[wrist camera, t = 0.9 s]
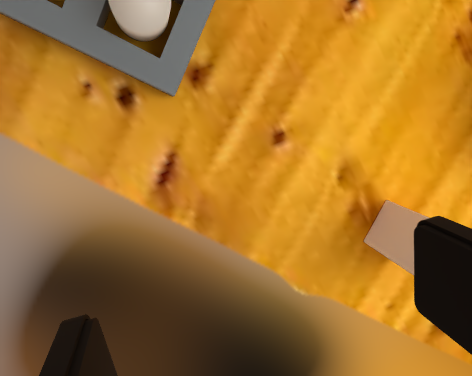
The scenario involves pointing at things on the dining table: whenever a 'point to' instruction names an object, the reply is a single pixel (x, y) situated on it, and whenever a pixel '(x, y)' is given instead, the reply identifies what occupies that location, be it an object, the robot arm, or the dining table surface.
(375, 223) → the milk
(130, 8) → the button
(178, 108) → the dining table surface
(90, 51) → the board
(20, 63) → the dining table surface
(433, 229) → the robot arm
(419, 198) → the dining table surface
